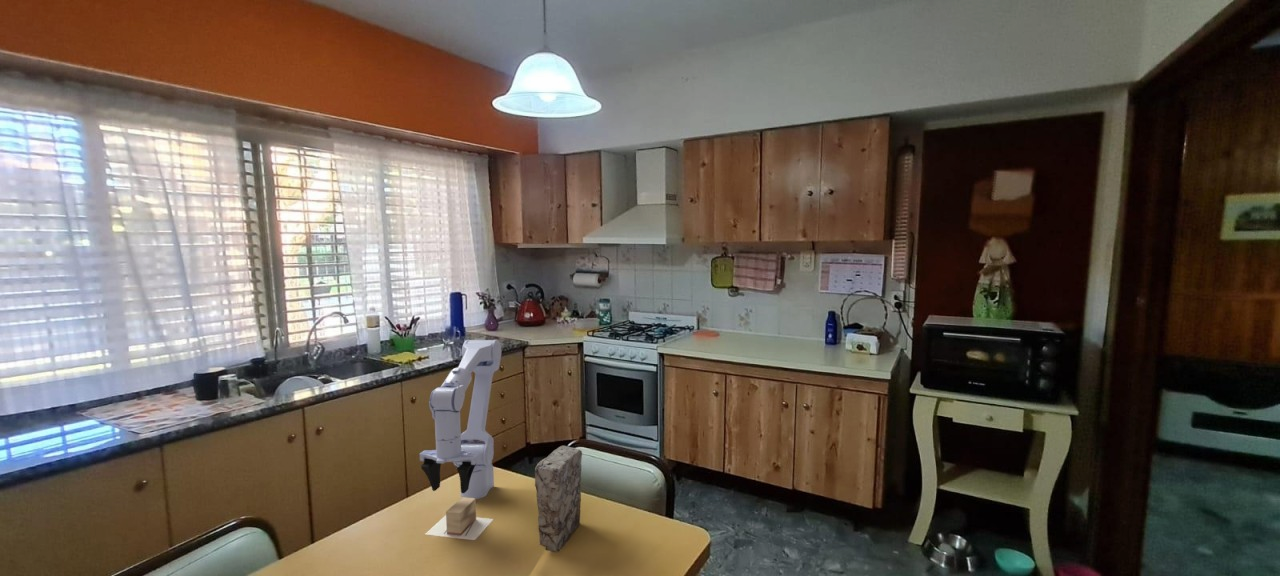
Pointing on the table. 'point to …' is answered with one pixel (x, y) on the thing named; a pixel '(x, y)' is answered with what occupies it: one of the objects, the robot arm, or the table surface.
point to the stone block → (558, 496)
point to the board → (469, 534)
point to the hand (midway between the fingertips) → (450, 490)
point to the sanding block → (461, 516)
